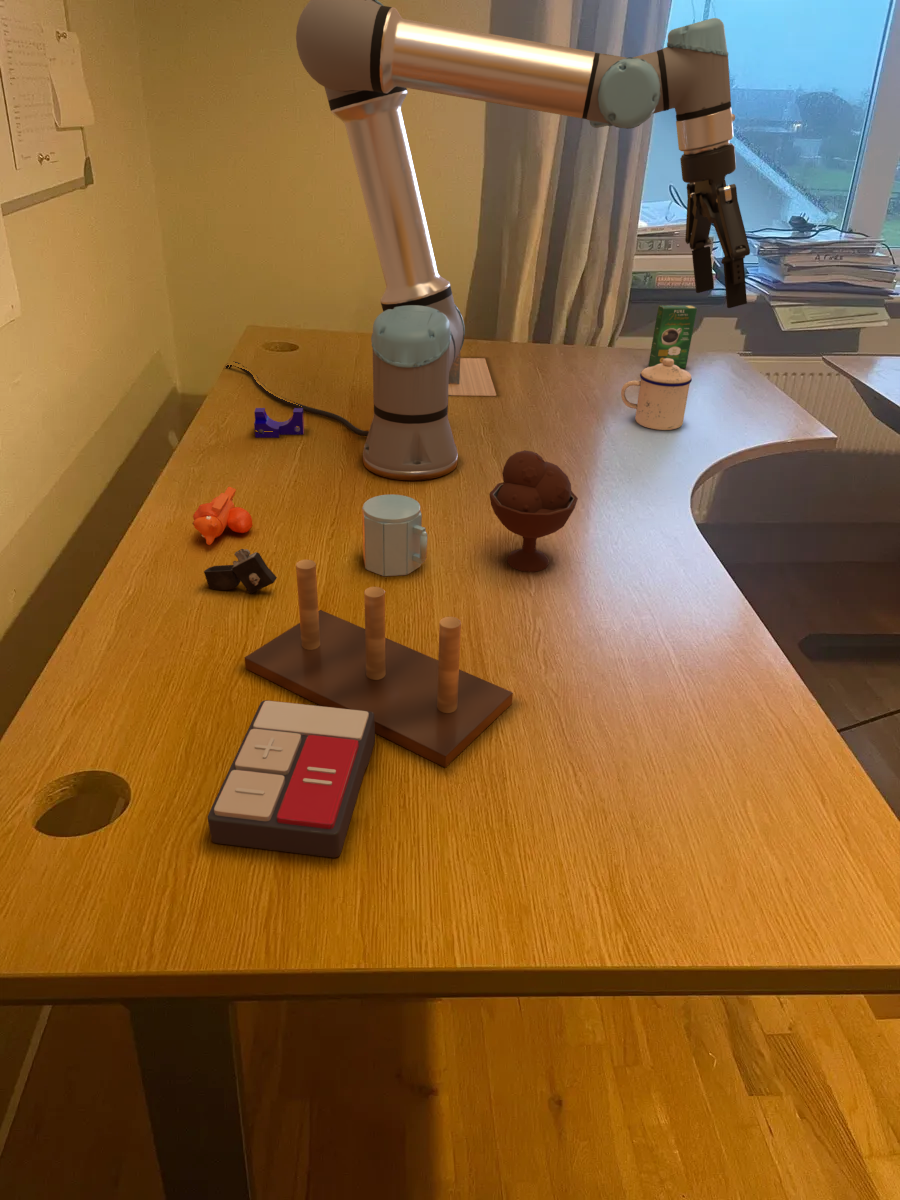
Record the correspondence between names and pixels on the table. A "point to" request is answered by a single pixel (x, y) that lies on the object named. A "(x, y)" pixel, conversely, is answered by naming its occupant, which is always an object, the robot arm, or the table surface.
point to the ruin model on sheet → (455, 371)
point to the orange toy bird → (221, 517)
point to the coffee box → (672, 334)
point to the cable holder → (278, 424)
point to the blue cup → (393, 535)
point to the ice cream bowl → (532, 505)
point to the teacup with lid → (660, 396)
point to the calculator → (294, 779)
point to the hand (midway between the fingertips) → (720, 298)
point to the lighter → (241, 573)
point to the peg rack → (381, 675)
